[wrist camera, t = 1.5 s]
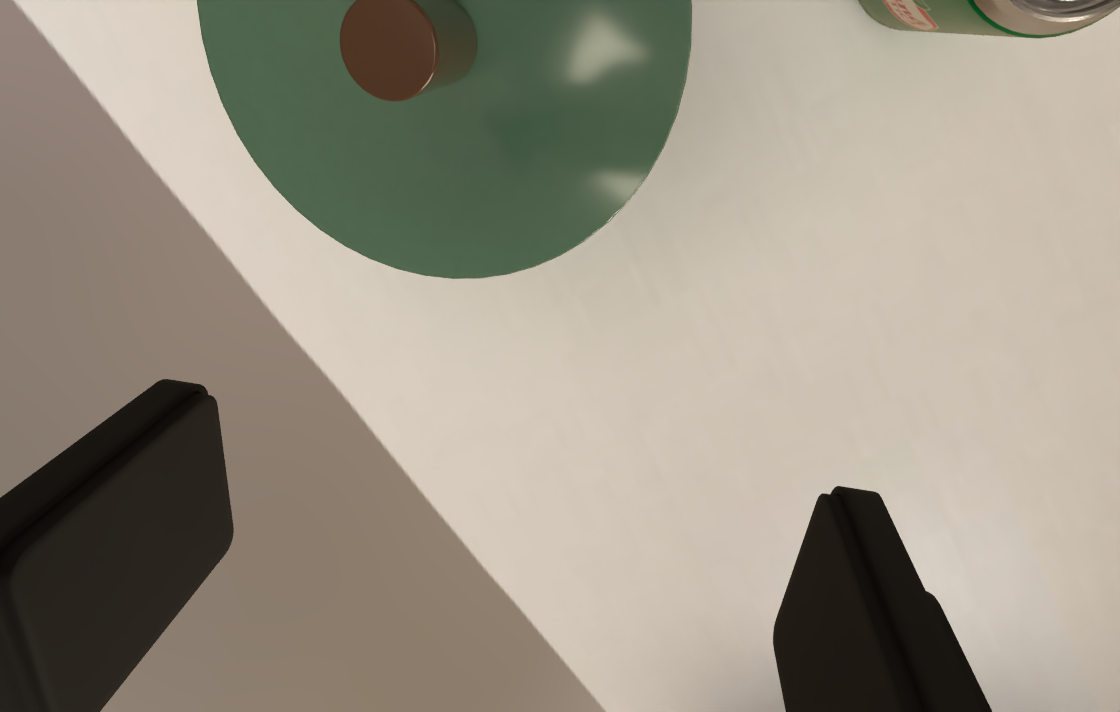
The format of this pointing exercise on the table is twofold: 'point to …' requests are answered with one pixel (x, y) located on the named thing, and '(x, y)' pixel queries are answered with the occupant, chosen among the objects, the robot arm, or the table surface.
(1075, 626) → the table surface
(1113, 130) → the table surface
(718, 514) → the table surface
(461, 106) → the bowl lid
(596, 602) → the table surface
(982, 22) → the soda can
